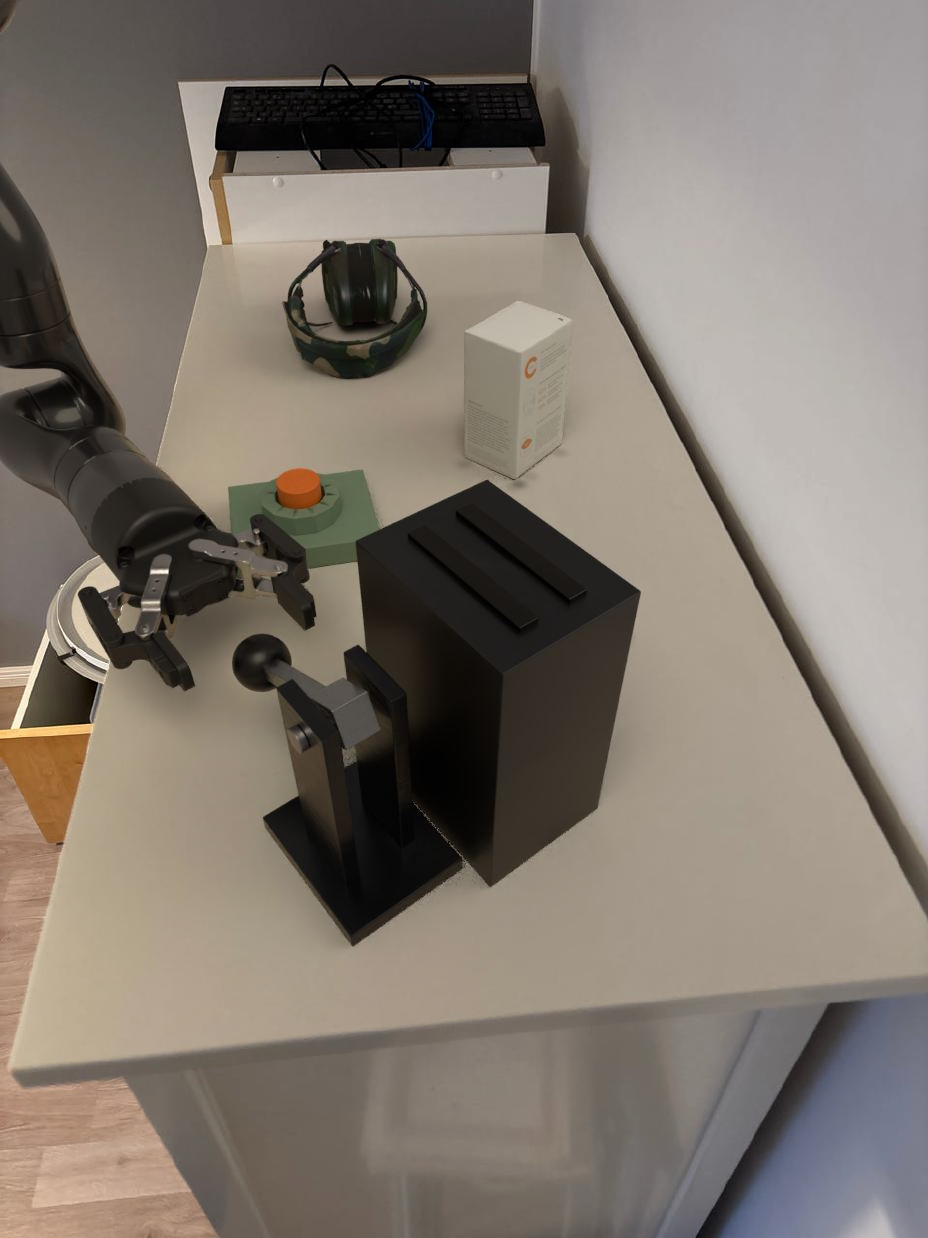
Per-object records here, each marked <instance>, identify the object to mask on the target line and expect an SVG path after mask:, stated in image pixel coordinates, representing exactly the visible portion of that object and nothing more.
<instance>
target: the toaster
mask: <svg viewBox="0 0 928 1238" xmlns="http://www.w3.org/2000/svg"><path fill="white" fill-rule="evenodd" d="M379 529H380V530H377V531H375V532H373V533H371V534H369V535H367V536H364V537H362V538H360V539H358V540H356V541H355V542H356V552H357V561H356V562H357V571H358V582H359V593H360V601H361V602H360V603H361V612H362V622H363V633H364V642H365V643H364V644H365V651H366V652H367V653H368V654H369V655H370V656H371V657H372V659H373V660H374V661H375V662H376V663H377V664H378V665H379V666H380V667H381V668H382V669H383V670H384V671H385V672H386V673H387V674H388V675H389V676H390V677H391V678H392V679H393V680H394V681H395V682H396V683H397V684H398V685H399V686H400V687H401V688H402V689H403V690H404V691H405V692H406V693H407V708H408V727H409V745H410V764H411V782H412V801H413V803H414V804H415V805H416V806H418V809H419V810H420V811H421V812H422V813H423V814H424V815H425V816H426V818H427V819H428V820H429V821H430V822H431V823H432V824H433V825H434V827H435V828H436V829H437V830H438V831H440V833H441V834H442V836H443V837H444V838H445V839H446V840H447V841H448V842H449V843H450V845H451V846H452V847H453V848H454V849H455V850H456V851H458V854H459V855H460V856H461V857H462V858H463V859H465V860H466V862H467V863H468V864H469V866H471V867H472V869H473V870H474V871H475V872H476V873H477V875H479V876H480V878H481V879H482V880H483V881H484V882H485V883H486V884H487V885H488V887H490V888H491V887H493V886H495V884H496V883H498V882H499V881H501V880H503V879H504V878H505V877H506V876H508V875H510V873H512V872H513V871H514V870H516V869H517V868H519V867H520V866H521V865H523V864H524V863H525V862H527V861H528V860H529V859H531V858H532V857H533V856H535V855H536V854H537V853H539V852H540V851H542V850H544V849H545V848H546V847H547V846H548V845H550V844H551V843H553V842H554V841H555V840H557V839H558V838H560V837H561V836H562V835H563V834H565V833H566V832H568V831H569V830H571V828H573V827H574V826H576V825H577V824H578V823H580V822H582V820H584V819H585V818H586V817H588V816H589V815H590V814H592V813H593V812H594V811H596V810H597V809H598V808H599V803H600V797H601V792H602V787H603V783H604V777H605V773H606V768H607V763H608V757H609V752H610V747H611V743H612V738H613V733H614V728H615V723H616V719H617V713H618V708H619V703H620V698H621V693H622V689H623V683H624V679H625V673H626V668H627V664H628V658H629V655H630V654H629V653H630V649H631V645H632V638H633V634H634V629H635V624H636V619H637V614H638V609H639V606H640V601H641V594H642V591H641V590H640V589H639V588H637V587H636V586H634V585H633V583H630V582H629V581H627V580H626V579H625V578H623V577H622V576H621V575H619V574H618V573H616V572H615V571H614V570H613V569H611V568H610V567H608V566H607V565H606V564H604V563H603V562H601V561H600V560H599V559H597V557H595V556H594V555H592V554H590V553H589V552H588V551H586V550H585V549H584V548H582V547H581V546H579V545H578V544H577V543H576V542H574V541H573V540H571V538H569V537H567V536H566V535H564V533H562V532H561V531H559V530H558V529H556V528H555V527H553V526H552V525H551V524H550V523H548V522H546V520H544V519H542V518H541V517H540V516H539V515H537V514H535V513H534V512H533V511H532V510H530V509H528V508H527V507H526V506H524V505H523V504H522V503H521V502H519V501H517V500H516V499H515V498H514V497H512V496H510V495H509V494H508V493H506V492H505V491H504V490H503V489H501V488H500V487H498V486H497V485H496V484H494V483H493V482H491V481H490V480H489V479H485V480H483V481H480V482H478V483H476V484H474V485H472V486H469V487H468V488H465V489H463V490H462V491H459V492H457V493H455V494H452V495H450V496H448V497H446V498H443V499H442V500H440V501H437V502H435V503H433V504H431V505H429V506H426V507H425V508H423V509H420V510H418V511H416V512H414V513H412V514H409V515H407V516H405V517H403V518H400V519H399V520H397V521H395V522H392V523H390V524H388V525H386V526H383V527H382V528H379Z"/></svg>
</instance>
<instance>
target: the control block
mask: <svg viewBox="0 0 928 1238" xmlns="http://www.w3.org/2000/svg"><path fill="white" fill-rule="evenodd" d="M316 473H317V474H318V476H319V478H320V485H321V493H322V498H321V500H320V502H319V503H318V504H316V505H314V506H312V507H310V508H304V509H297V510H295V509H290V508H285V507H284V506H282V505H281V504H280V502H279V499H278V493H277V487H276V480H277V478H278V477H276V478H273V479H272V480H269V481H261V482H253V483H247V484H240V485H231V486H228V487H227V492H228V503H229V504H228V505H229V516H230V517H229V518H230V528H231V529H230V530H231V534H232V535H236V534H238V533H240V532H242V531H244V530H246V529H248V528H250V527H251V523H250V518H251V517H252V516H254V515H256V514H263V515H265V516H267V517H268V518H269V519H270V520H271V521H273V522H274V523H275V524H276V525H277V526H279V527H280V528H281V529H282V530H283V531H285V532H286V533H287V534H288V535H289V536H291V537H292V538H293V539H294V540H295V541H297V542H298V543H299V544H300V545H302V546H303V547H304V548H305V549H306V555H307V557H306V560H307V566H308V569H312V568H319V567H326V566H333V565H339V564H347V563H352V562H357V552H356V542H355V541H356V540H358V539H360V538H362V537H364V536H367V535H369V534H371V533H373V532H375V531H377V530H380V529H381V528H380V526H379V523H378V519H377V515H376V511H375V508H374V504H373V500H372V497H371V492H370V490H369V486H368V482H367V479H366V475H365V471H364V469H356V470H348V471H339V472H332V473H326V474H325V473H320V472H319V473H318V472H316ZM264 558H266V557H264ZM237 579H242V574H241V571H240V569H239V568H238V573H237Z"/></svg>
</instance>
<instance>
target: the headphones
mask: <svg viewBox="0 0 928 1238" xmlns="http://www.w3.org/2000/svg"><path fill="white" fill-rule="evenodd" d="M319 266H321V278H322V287H323V293H324V299H325V302H326V304H327V306H328V310H329V312H330V314H331V315H332V317H333V318H334V319H335V320H336V322H337V323H338V324H339V325H341V326H344V327H345V326H352V325H353V324H354V323H369V322H370V323H371V322H375V323H376V325H386V324H388V323H389V324H392V325H393V326H392V327H391V328H389V329H388V330H387V331H384V332H382V333H380V334H379V335H377V336H374V337H371V338H368V339H356V340H337V339H333V338H329V337H325V336H322V335H320V334H318V333H316V332H314V331H313V329H312V328H311V327H315V328H318V327H320V328H321V327H326V326H329V325H332V324H333V323H334V321H330V322H323V323H314V322H311V321H310V322H309V321H308V320H307V316H306V310H305V302H304V300H303V299H302V298H303V297H304V290H303V288H302V283H303V281H304V279H306V278H307V277H308V276H309V275H310V274H312V273H313V272H314V271H315V269H317V268H318V267H319ZM398 269H399V270H400V272H401V273H402V274H403V275H404V277H405V278H406V280H407V281H408V283H409V285H410V288H411V291H410V303H409V304H408V305H407V306H406V307H405V312H404V313H403V314H402V317H401V318H400V320H399V321H398V322H397V321H395V320H393V319H392V317H393V313H394V311H395V308H396V303H397V302H396V301H397V298H398V285H399V284H398V281H399V280H398V279H399V277H398V276H399V275H398V273H399V272H398ZM294 289H295V290H294ZM418 293H419V296H420V298H421V300H422V305H421V300H419V297H418ZM281 305H282V307H283V310H284V314H285V318H286V324H287V328H288V330H289V333H290V336H291V339H292V342H293V344H294V347H295V349H296V351H297V353H299V354H300V355H301V359H302V360H304V361H305V362H307V363H309V364H310V365H313V366H314V367H316V368H317V369H319V370H321V371H322V372H324V373H326V374H328V375H330V376H333V377H336V378H340V379H341V378H342V379H352V378H356V377H359V376H360V377H361V376H362V377H366V378H367V377H370V376H373V375H375V374H376V373H378V372H380V371H383V370H385V369H388V368H390V367H393V365H394V364H396V363H397V361H398V360H400V359H401V358H402V357H403V356H405V355H406V354H407V353H408V352H409V350H410V349H411V348H412V346H413V345H414V344H415V342H416V340H417V338H418V337H419V335H420V334H421V332H422V330H423V329H424V327H425V324H426V321H427V316H428V301H427V298H426V294H425V292H424V290H423V288H422V287H421V286H420V284H419V283H418V282H417V280H416V279H415V278H414V277H413V275H412V274H411V272H409V270H408V269H407V267H406V265H405V263H404V262H403V261H402V259H401V258H400V257H399V256H398V255H397V247H396V244H395V242H394V241H392V240H386V239H384V238H371V239H370V240H369V242H354V243H347V242H346V241H344V240H333V241H332V242H330V241H329V240H328V239H325V240H323V242H322V251H320V253H319V255H317V256H316V257H315V258H314V259H313V260H312V261H311V262H309V264H308V265H306V268H305V269H304V270H303V271H302V272H301V273H300V274H299V275H298V276H297V277H296V278H294V280H293V281H292V282H291V284H290V286H289V288H288V292H287V300H286V301H285V300H283V301H282V302H281ZM422 306H423V307H422Z"/></svg>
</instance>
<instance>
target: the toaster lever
mask: <svg viewBox="0 0 928 1238" xmlns="http://www.w3.org/2000/svg"><path fill="white" fill-rule="evenodd" d="M292 665H293V659H292V653H291V652H290V650H289V647H288V646H287V644H286V643H285V642H284V641H283V640H281V639H280V638H279V637H277V636H275V635H273V634H269V633H255V634H252V635H249V636H247V637H245V638H244V639H243V640H241V641H240V643H238V645H237V646H236V647H235V648H234V651H233V654H232V658H231V669H232V673H233V675H234V677H235V679H236V680H237V682H238V683H239V684H240V685H241V686H242V687H244V688H246V689H247V690H249V691H251V692H255V693H266V692H272V691H273V690H276V687H278V686H280V685H282V684H284V683H286V682H288V681H289V680H291V679H293V680H294V681H295V682H296V683H297V684H298V685H299V686H300V687H301V689H302V690H303V691H304V692H305V693H306V694H307V695H308V697H309V698H310V699H311V700H312V701H313V702H314V703H315V705H316V706H317V707H318V708H319V709H320V710H321V711H322V713H323V714H324V715H325V716H326V717H327V718H328V719H329V721H330V722H331V723H332V724H333V725H334V726H335V727H336V729H337V730H338V731H339V732H340V739H341V746H342V750H345V751H348V750H350V749H352V748H353V747H355V745H356V744H358V743H360V742H362V741H363V740H365V739H367V738H368V737H370V736H372V735H373V734H375V733H377V732H379V731H380V730H381V727H380V724H379V722H378V719H377V716H376V713H375V710H374V707H373V704H372V702H371V699H370V696H369V693H368V691H367V690H365V689H363V688H361V687H359V686H358V685H356V684H354V683H352V682H350V681H348V680H347V678H345V677H341V678H338V679H337V680H335V681H333V682H332V683H330V684H328V685H325V684H323V683H321V682H320V681H318V680H316V679H315V678H312V677H311V676H309V675H307V674H306V673H304V672H303V671H300V670H299V669H297V668H295V667H293V666H292Z"/></svg>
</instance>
